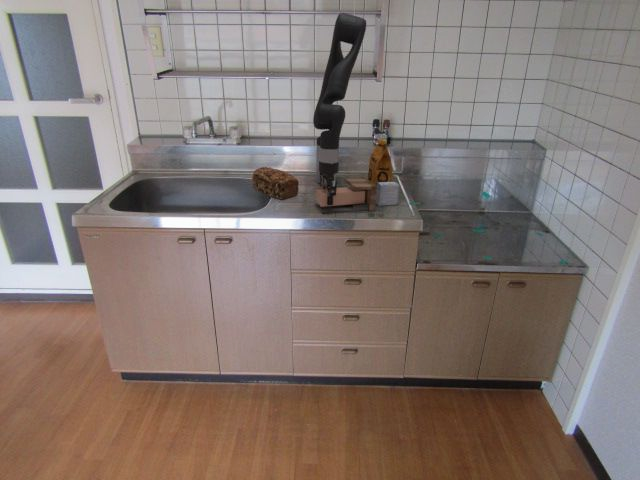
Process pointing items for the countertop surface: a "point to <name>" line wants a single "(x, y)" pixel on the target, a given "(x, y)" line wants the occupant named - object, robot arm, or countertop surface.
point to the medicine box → (387, 193)
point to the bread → (275, 183)
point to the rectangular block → (341, 196)
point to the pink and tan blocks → (369, 204)
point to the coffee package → (380, 164)
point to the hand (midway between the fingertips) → (327, 201)
